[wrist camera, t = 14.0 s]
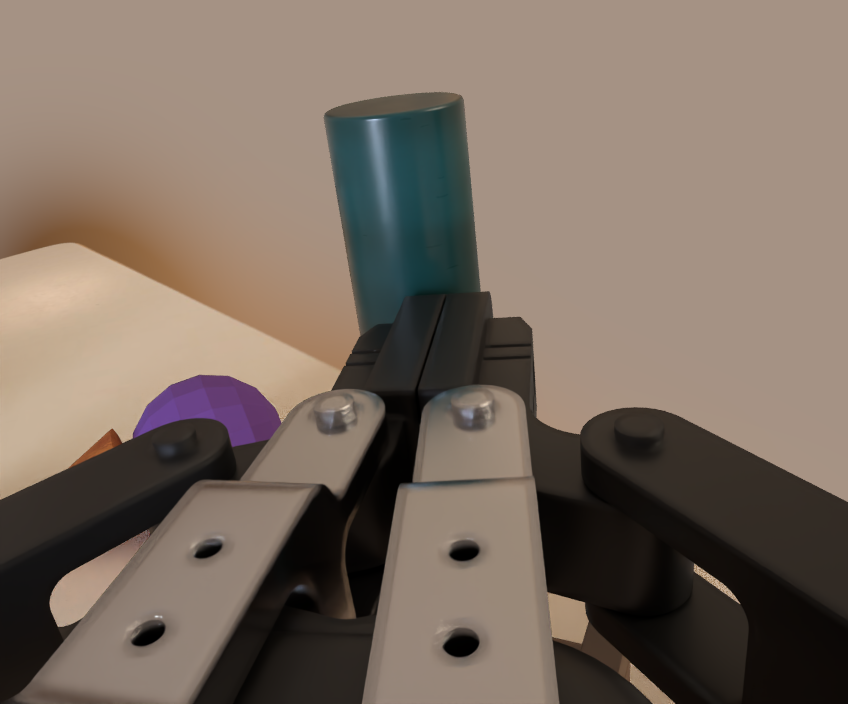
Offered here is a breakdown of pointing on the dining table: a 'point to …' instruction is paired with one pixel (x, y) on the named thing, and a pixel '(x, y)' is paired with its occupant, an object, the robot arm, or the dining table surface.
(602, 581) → the robot arm
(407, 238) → the dish rack
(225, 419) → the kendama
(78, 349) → the dining table surface
